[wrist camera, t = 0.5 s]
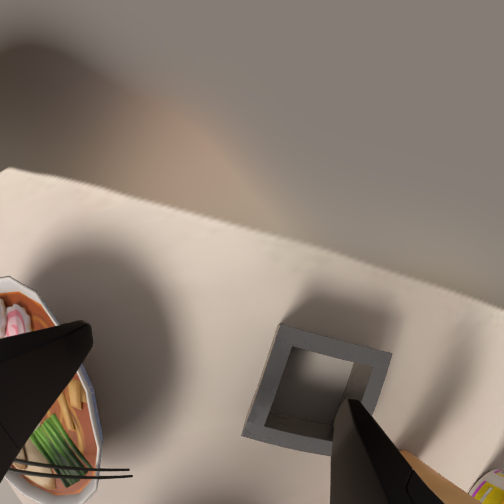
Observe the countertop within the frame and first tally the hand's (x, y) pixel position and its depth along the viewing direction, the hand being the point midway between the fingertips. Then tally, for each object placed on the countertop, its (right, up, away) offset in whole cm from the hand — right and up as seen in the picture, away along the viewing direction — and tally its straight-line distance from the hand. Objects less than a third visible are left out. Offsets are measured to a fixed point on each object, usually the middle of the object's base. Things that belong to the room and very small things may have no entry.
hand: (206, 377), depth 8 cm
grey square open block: (+6, -7, +13) cm, 16 cm away
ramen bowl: (-20, -11, +13) cm, 26 cm away
